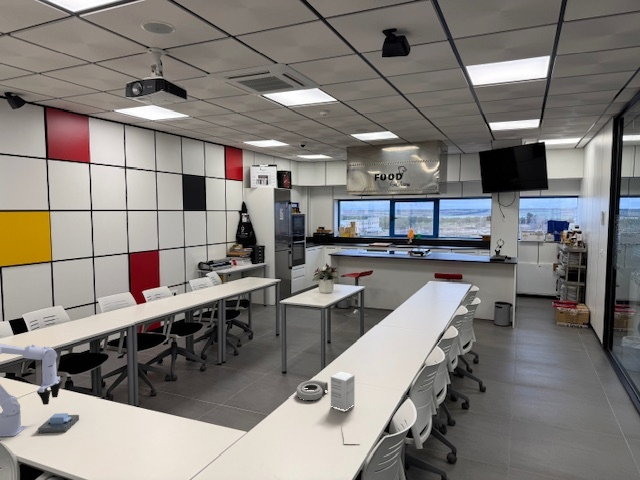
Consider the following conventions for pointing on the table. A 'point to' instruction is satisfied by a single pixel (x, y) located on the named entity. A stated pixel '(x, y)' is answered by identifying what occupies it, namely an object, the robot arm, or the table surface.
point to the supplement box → (342, 390)
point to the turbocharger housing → (311, 385)
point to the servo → (59, 418)
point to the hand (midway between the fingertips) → (50, 400)
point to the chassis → (58, 426)
